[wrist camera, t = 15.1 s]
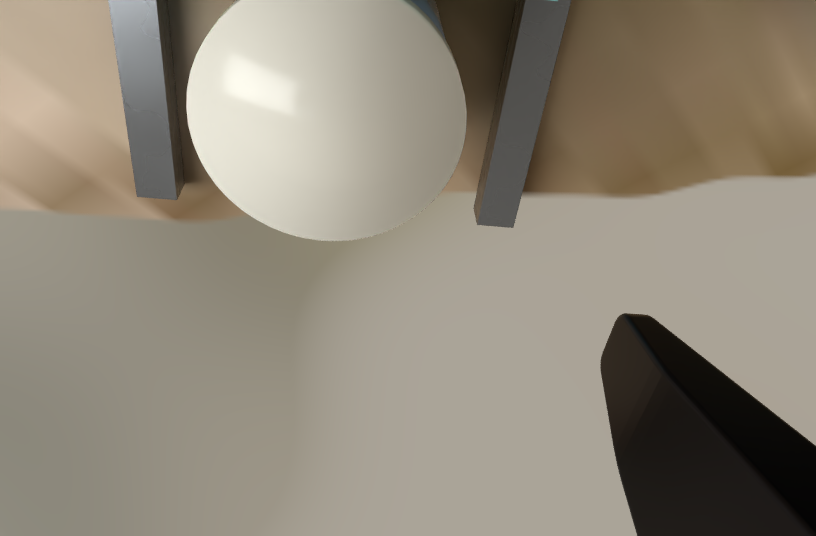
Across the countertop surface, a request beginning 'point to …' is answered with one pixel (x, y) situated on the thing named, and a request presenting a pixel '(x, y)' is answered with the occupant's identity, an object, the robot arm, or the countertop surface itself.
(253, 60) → the jar
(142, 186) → the gray u-shaped archway
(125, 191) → the countertop surface
